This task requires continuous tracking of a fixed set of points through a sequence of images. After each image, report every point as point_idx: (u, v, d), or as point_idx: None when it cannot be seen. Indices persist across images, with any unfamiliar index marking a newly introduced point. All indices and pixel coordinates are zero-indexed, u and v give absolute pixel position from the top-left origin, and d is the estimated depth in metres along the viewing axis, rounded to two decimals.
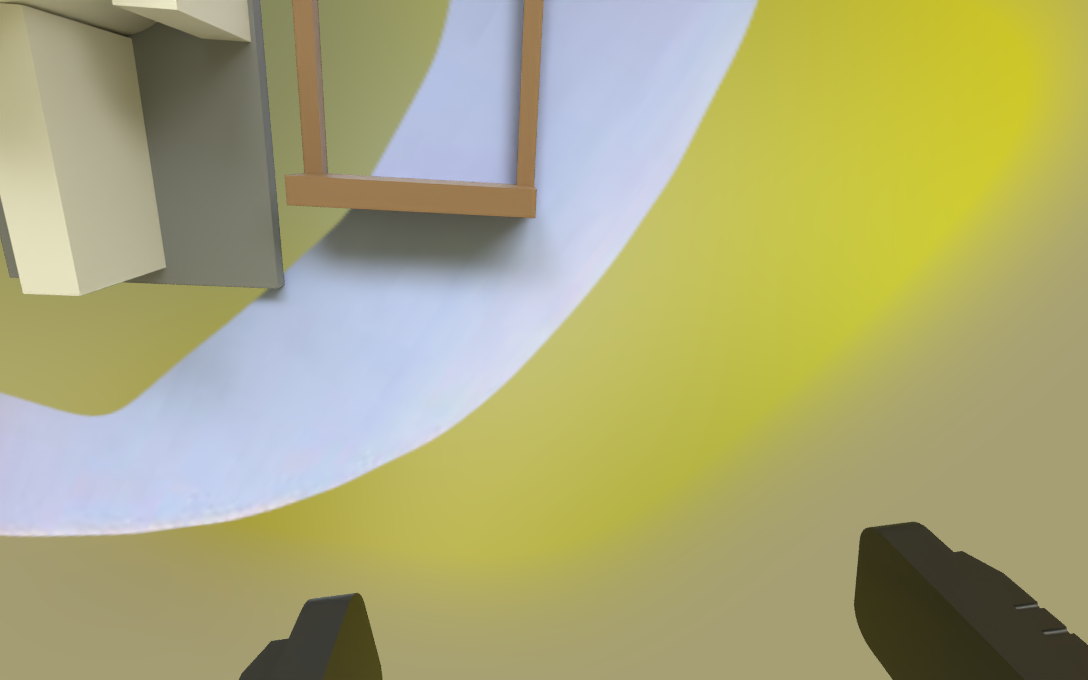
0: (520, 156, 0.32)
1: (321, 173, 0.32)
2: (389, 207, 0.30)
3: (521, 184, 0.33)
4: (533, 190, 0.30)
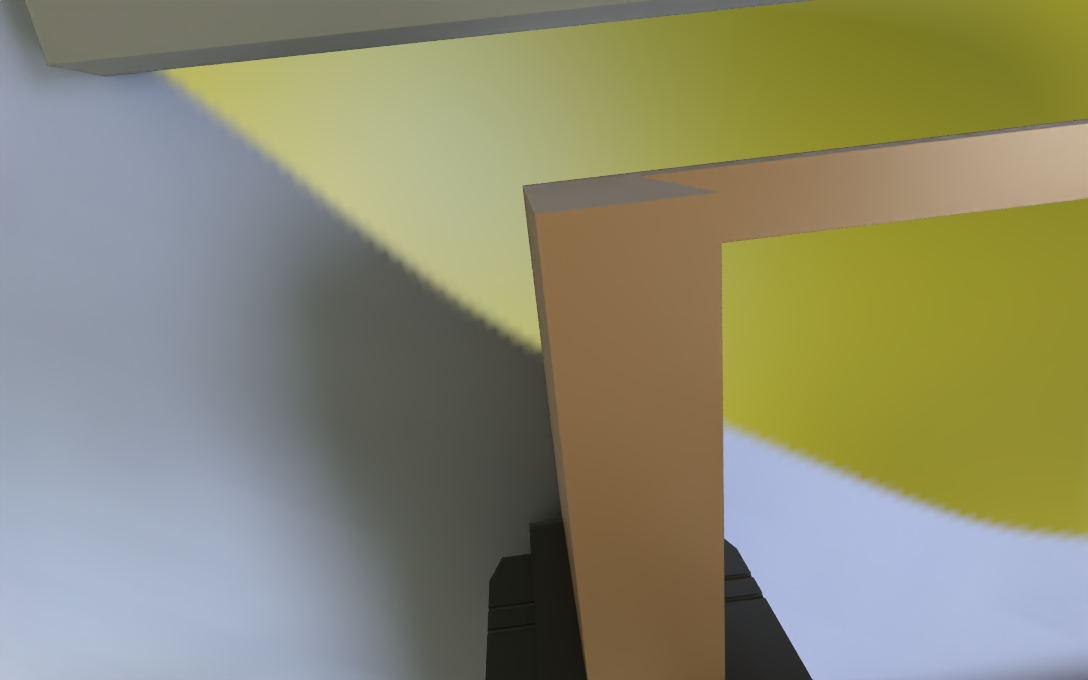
0: None
1: None
2: None
3: None
4: None
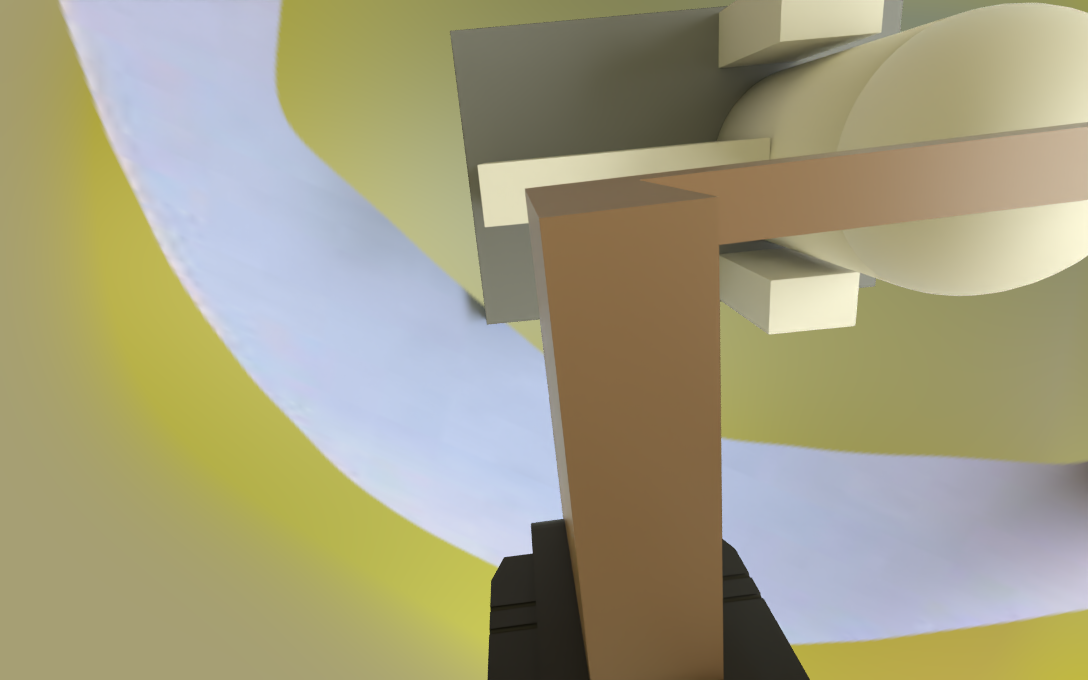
0: None
1: None
2: None
3: None
4: None
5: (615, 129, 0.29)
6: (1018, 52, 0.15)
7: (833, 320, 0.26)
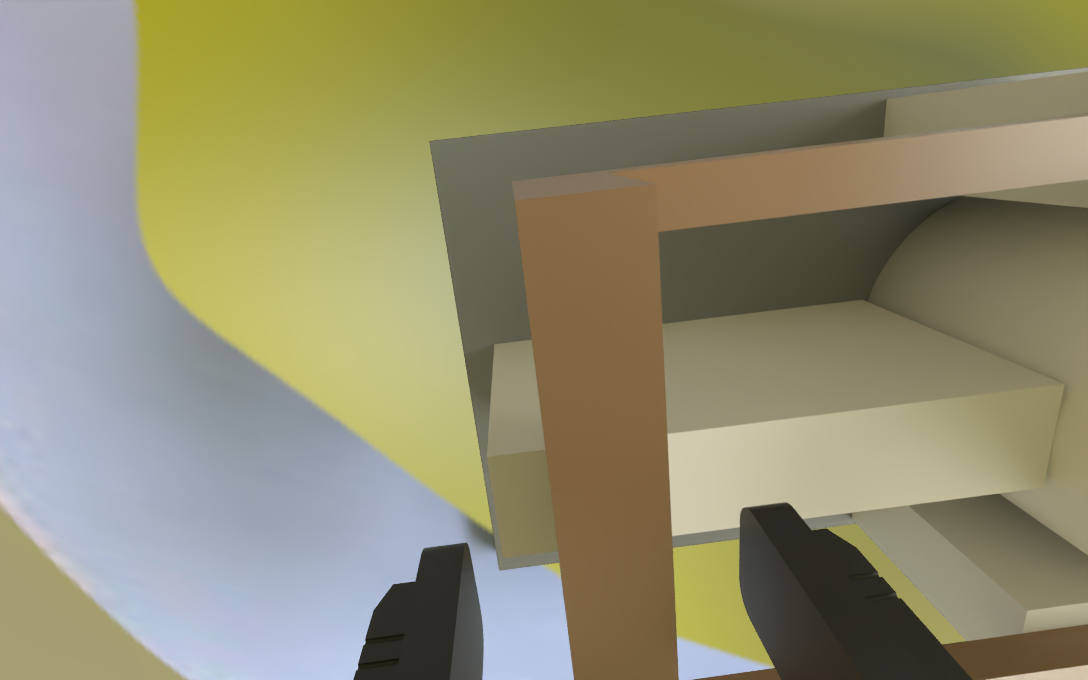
0: None
1: None
2: (575, 598, 0.08)
3: None
4: None
5: (706, 286, 0.18)
6: None
7: None
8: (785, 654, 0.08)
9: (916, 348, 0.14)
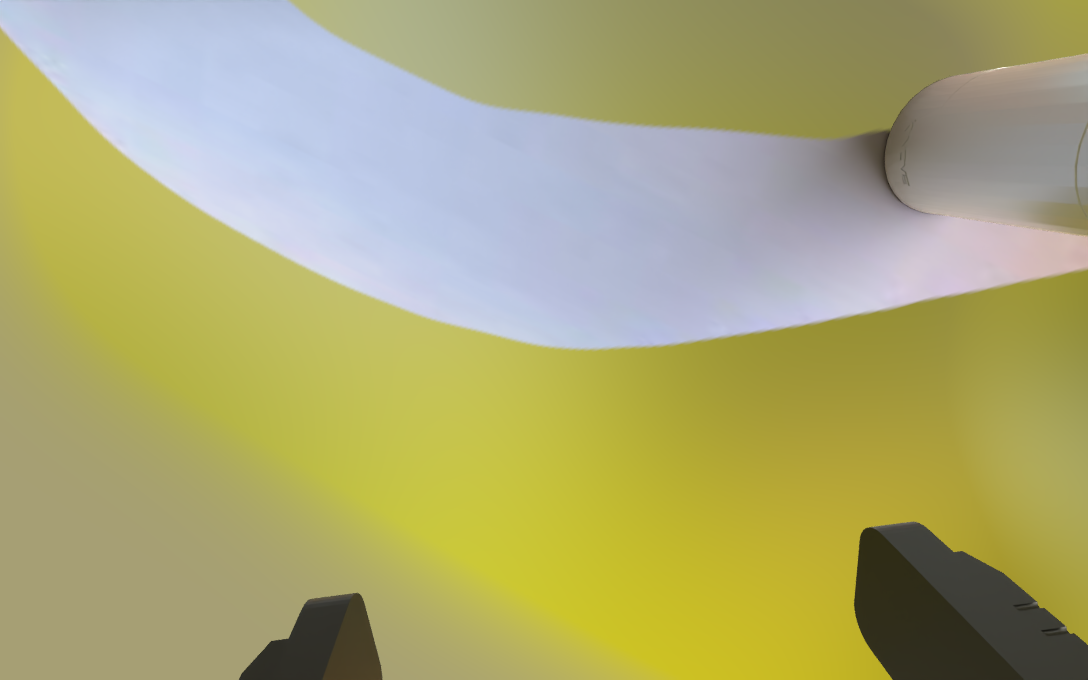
0: None
1: None
2: None
3: None
4: None
5: None
6: None
7: None
8: None
9: None
